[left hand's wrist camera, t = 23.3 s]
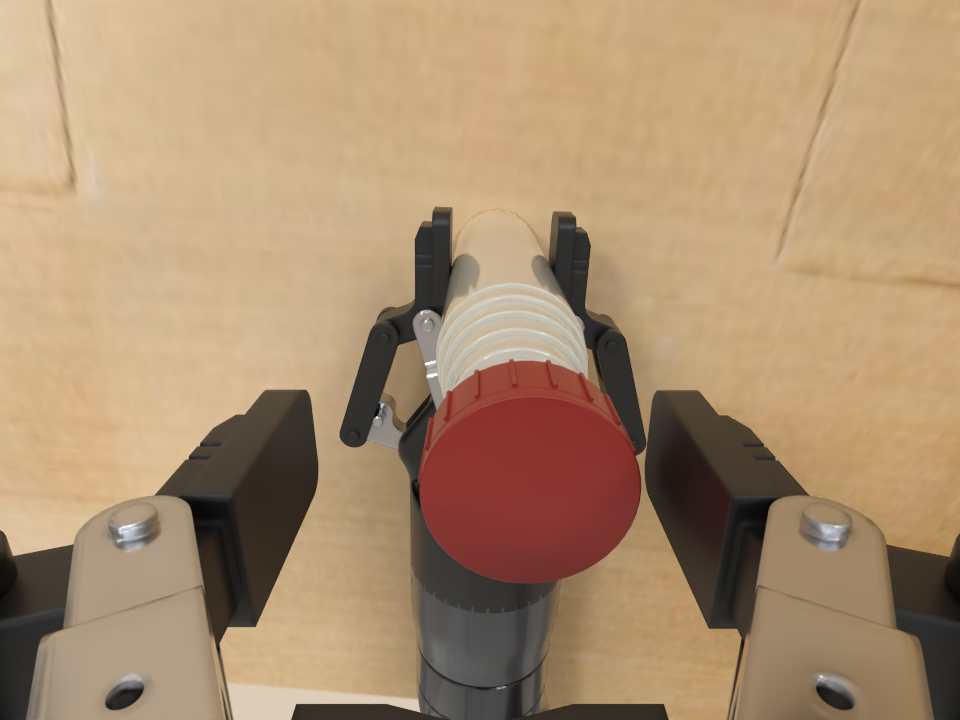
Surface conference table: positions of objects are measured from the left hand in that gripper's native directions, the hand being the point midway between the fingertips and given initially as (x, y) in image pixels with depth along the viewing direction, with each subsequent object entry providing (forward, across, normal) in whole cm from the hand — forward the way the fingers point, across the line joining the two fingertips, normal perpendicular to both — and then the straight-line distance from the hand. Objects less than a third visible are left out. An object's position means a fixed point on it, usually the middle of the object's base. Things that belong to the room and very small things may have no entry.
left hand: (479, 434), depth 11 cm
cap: (-1, -1, 0) cm, 1 cm away
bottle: (+20, -1, 0) cm, 20 cm away
